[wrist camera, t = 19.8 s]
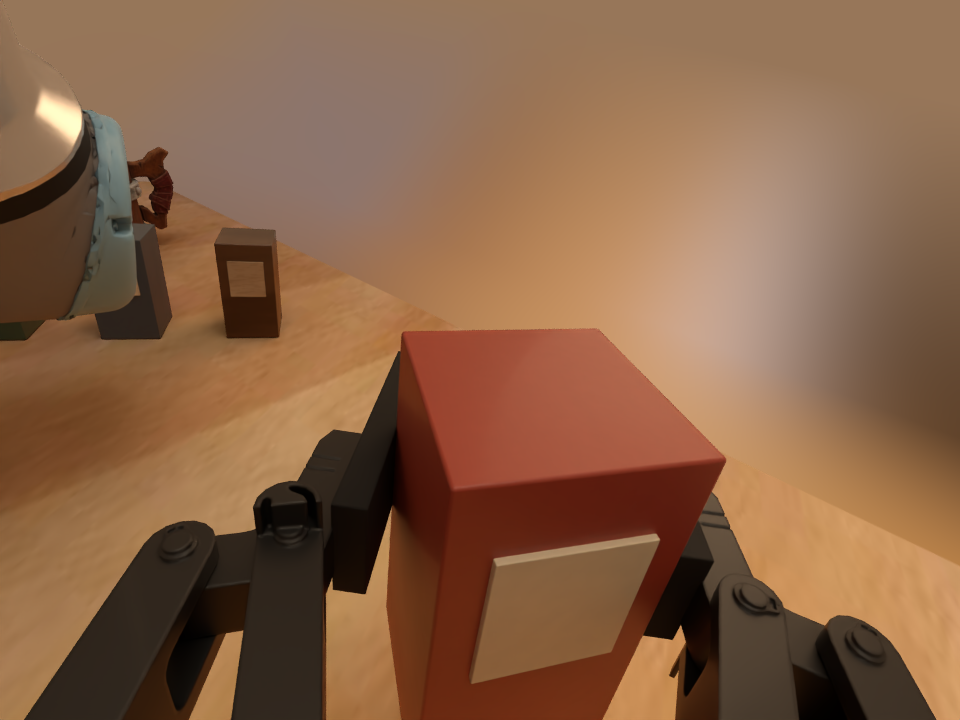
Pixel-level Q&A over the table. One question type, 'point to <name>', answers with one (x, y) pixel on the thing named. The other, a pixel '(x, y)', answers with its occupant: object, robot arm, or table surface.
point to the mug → (159, 197)
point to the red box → (531, 521)
